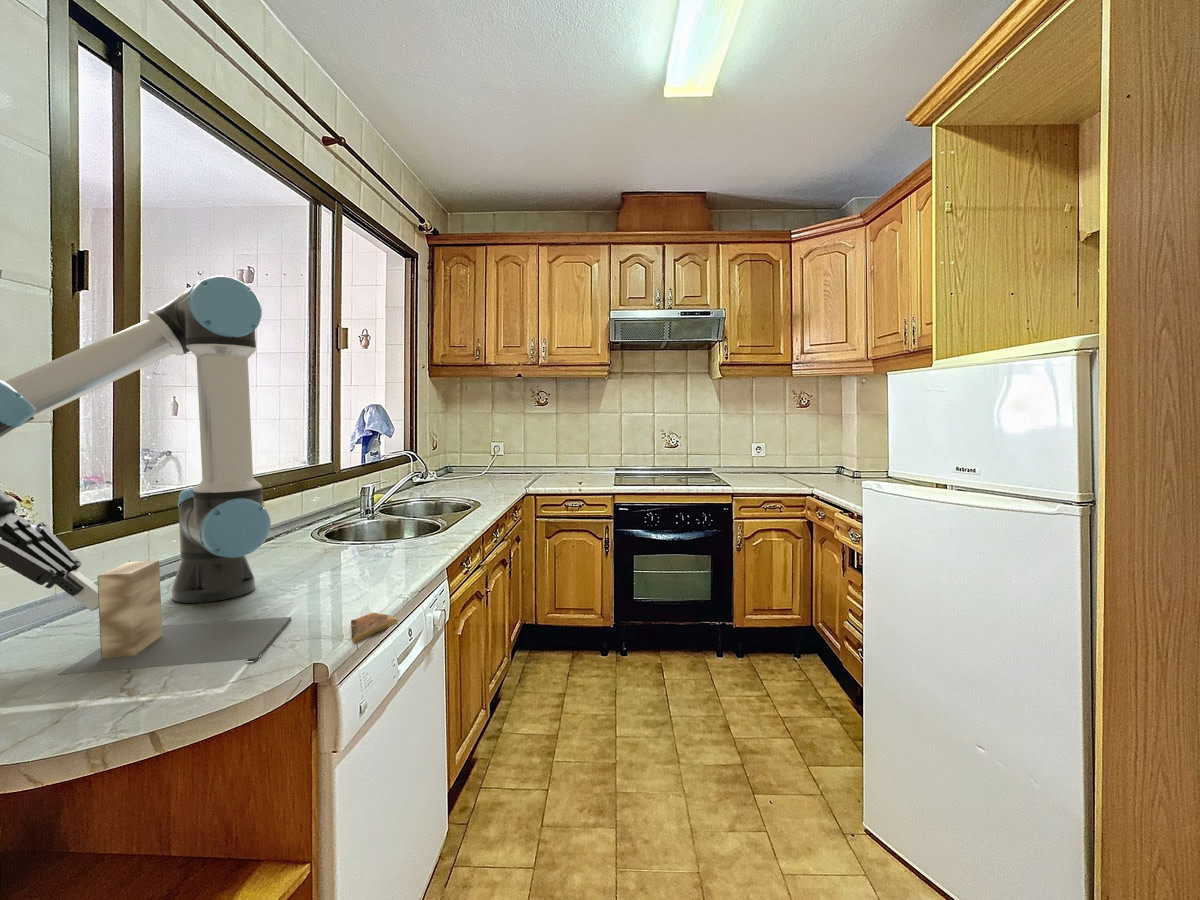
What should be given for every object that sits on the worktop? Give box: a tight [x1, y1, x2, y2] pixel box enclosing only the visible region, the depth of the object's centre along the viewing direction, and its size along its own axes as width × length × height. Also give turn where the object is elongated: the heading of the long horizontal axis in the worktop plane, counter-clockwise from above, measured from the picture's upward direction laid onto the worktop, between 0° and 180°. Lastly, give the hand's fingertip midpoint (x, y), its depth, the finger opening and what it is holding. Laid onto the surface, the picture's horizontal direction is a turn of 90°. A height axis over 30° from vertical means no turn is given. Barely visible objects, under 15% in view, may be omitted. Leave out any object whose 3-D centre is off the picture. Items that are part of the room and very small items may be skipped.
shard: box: [350, 612, 399, 643], centre depth 107 cm, size 11×8×2 cm
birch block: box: [97, 559, 163, 658], centre depth 98 cm, size 5×9×13 cm, turn 13°
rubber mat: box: [57, 616, 292, 676], centre depth 100 cm, size 26×20×1 cm
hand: (101, 603), depth 96 cm, fingers closed
